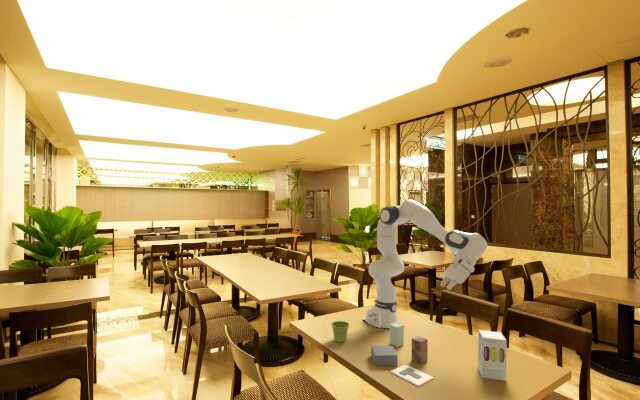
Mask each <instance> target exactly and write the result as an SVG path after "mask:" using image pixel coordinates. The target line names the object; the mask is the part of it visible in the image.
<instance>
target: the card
mask: <svg viewBox="0 0 640 400" xmlns="http://www.w3.org/2000/svg"><path fill="white" fill-rule="evenodd" d="M390 373H391V374H393V375H395V376H397V377H398V378H401V379H403V380H405V381H406V382H408V383H410V384H413V385H415V386H416V387H422V386H423V385H425V384H426V383H429V382H430V381H432V380H434V377H433V376H431V375H430V374H427V373H425V372H423V371H420V370H419V369H417V368H414V367H412V366H410V365H408V364H403V365H401V366H398V367H397V368H395V369H392V370H390Z"/></svg>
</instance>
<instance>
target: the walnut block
mask: <svg viewBox="0 0 640 400" xmlns="http://www.w3.org/2000/svg"><path fill="white" fill-rule="evenodd" d="M428 347H429V346H428V338H425V337H422V336H420V335H417V336H415V337H413V338H411V361H413V362H414V363H417V364H419V365H423V364H426V362H428Z"/></svg>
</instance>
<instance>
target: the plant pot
mask: <svg viewBox="0 0 640 400" xmlns="http://www.w3.org/2000/svg"><path fill="white" fill-rule="evenodd" d="M330 325H331V328H332V332H333V339H334V342H336V341H337V342H336V343H338V342H339V343H341V342H343V343H345V342H346V341H347V336H348V329H349V326H350V323H349V322H347V321H343V320H336V321H333V322H331V324H330Z"/></svg>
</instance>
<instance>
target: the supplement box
mask: <svg viewBox="0 0 640 400" xmlns="http://www.w3.org/2000/svg"><path fill="white" fill-rule="evenodd" d="M477 337H478V342H477V344H478V345H477V346H478V347H477V352H478V353H477V369H478V372H479V374H480V376H481V378H483V379H489V380H498V381H503V382H506V381H507V350H508V349H507V342H508V341H507V339H506V337H505V336H504V335H503V333H502V332H500V331H491V330H481V329H479V330H478V336H477Z"/></svg>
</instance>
